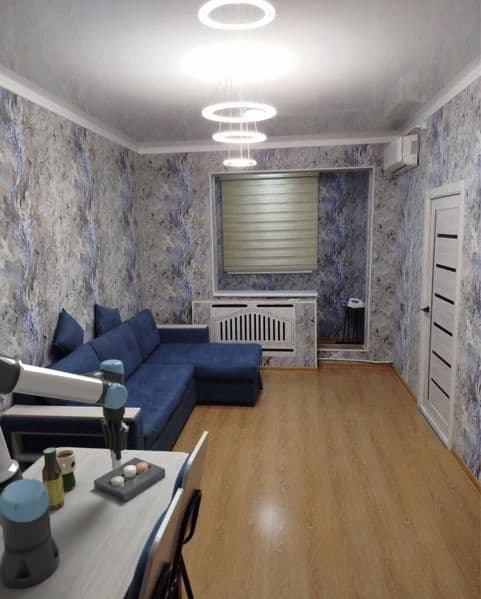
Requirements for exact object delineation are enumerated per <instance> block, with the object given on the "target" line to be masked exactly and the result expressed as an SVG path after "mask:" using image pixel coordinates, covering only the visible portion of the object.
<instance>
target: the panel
mask: <svg viewBox="0 0 481 599" xmlns="http://www.w3.org/2000/svg"><path fill="white" fill-rule="evenodd" d="M140 462H146V463H148V469H147V470H145V471H143V472H140V471H138V470H136V476H135V477H133V478H132V479H130V480H129V479H127V478H125V477H124V468H125V467H126V466H129V465H134V466H136V465H137V464H138V463H140ZM117 476H121V477H123V478H124V484H122V485H120V486H119V487H115V486H112V485H111V479H112V478H114V477H117ZM165 477H166V468H164V467H162V466H158V465H156V464H154V463H151V462H148V461H146V460H143V459H140V458H138V457H135V456H134V457H133V458H131V459H130V460H128V461H125V462H124V463H122V464H121V467H119V468H117V469H111V470H110V471H109V472H106V473H105V474H103V475H101V476H99V477H97V478H96V479H94V480H93V485H94V486H93V488H94V489H95V490H97V491H100V492H101V493H104V494H106V495H107V496H110V497H112V498H115V499H116V500H118V501H121V502H123V503H126V502H128V501H130V500H132V498H134V497H136V496H137V495H139V494H140V493H142V492H144V491H145V490H146V489H148V488H150V487H151V486H152V485H154V484H155V483H157V482H159V481H160V480H161V479H163V478H165Z"/></svg>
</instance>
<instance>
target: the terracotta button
mask: <svg viewBox="0 0 481 599" xmlns="http://www.w3.org/2000/svg"><path fill="white" fill-rule="evenodd" d="M146 462H147V461H146ZM146 462H140V463H138V464H137V465H136V470H138V471H140V472H143V471H145V470H147V469H148V463H146Z"/></svg>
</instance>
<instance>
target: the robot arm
mask: <svg viewBox="0 0 481 599" xmlns="http://www.w3.org/2000/svg"><path fill="white" fill-rule="evenodd" d="M12 393H17V394H18V393H19V394H25V395H32V396H38V397H46V398H53V399H58V400H59V399H60V400H67V401H73V402H80V403H86V404H93V405H99V406H102V415H103V417H104V418H103V419H101V420H100V421H99V423H100V425H101V427H102V428H101V429H102V432H103V437H104V438H103V439H104V442H105V447H106V448H109V451H110V458H111V468H112V469H111V470H114V469H117V468H119V467H121V465H122V464H121V463H122V462H121V461H122V451H124V450H126V448H127V439H128V434H129V431H130V429H131V428H130V426H129V425H127V424H126V423H125V418H124V416H125V415H126V404H125V403H126V402H127V399H128V393H129V392H128V390H127V388H126V387H125V371H124V364H123V362H122V360H118V359H106V360H104V361H102V362H101V363H100V367H99V369H97V370H94V371H90V372H85V373H82V374H75V373H71V372H67V371H61V370H57V369H51V368H46V367H41V366H37V365H32V364H28V363H23V362H22V361H21V360H20V359H19V358H18V357H17V358H16V357H14V356H9V355H6V354H3V353H1V352H0V395H5V396H9V395H10V394H12ZM7 446H8V445H7V442H6V440H5V437H4V434H3V429H2V427H1V426H0V527H1V529H2V539H3V547H4V548H3V552H2V555H1V561H0V583H1V584H2V585H3V586H4V587H7V588H9V589H25V588H29V587H32V586H35V585H38V584H40V583H41V582H43V581H45V580H46V579H48V578H50V576H52V574H54V572H55V571H56V570H57V569H58V567H59V565H60V562H61V558H60V557H61V556H60V550H59V547H58V545H57V543H56V541H55V539H54V537H53V536H52V531H51V529H52V528H51V514H50V510H49V495H48V492H47V488H46V486H45V485H44V484H43V481H42V480H38V479H35V478H33V479H30V478H24V477H23V474H22V470H21V467H20V465H19V462H18V461H17V460H16V459H12V458H11V455H10V452H9V448H8V447H7Z"/></svg>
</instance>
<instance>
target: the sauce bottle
mask: <svg viewBox="0 0 481 599" xmlns="http://www.w3.org/2000/svg"><path fill="white" fill-rule="evenodd" d="M57 452H58V450H57V448H56V447H48V448H46V449H44V450H43V459H44V465H43V468H42V470H41V474H42V477H41V478H42V479H41V482H42V483H43V484H44V485H45V486H46V488H47V492H48V495H49V511H53V510H54V511H55V510H57V509H60V508H61V507H63V505H64V504H65V492H64V491H65V490H64V488H63V478H62V469H61V467H60V465H59V463H58V461H57V457H56V453H57Z"/></svg>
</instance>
